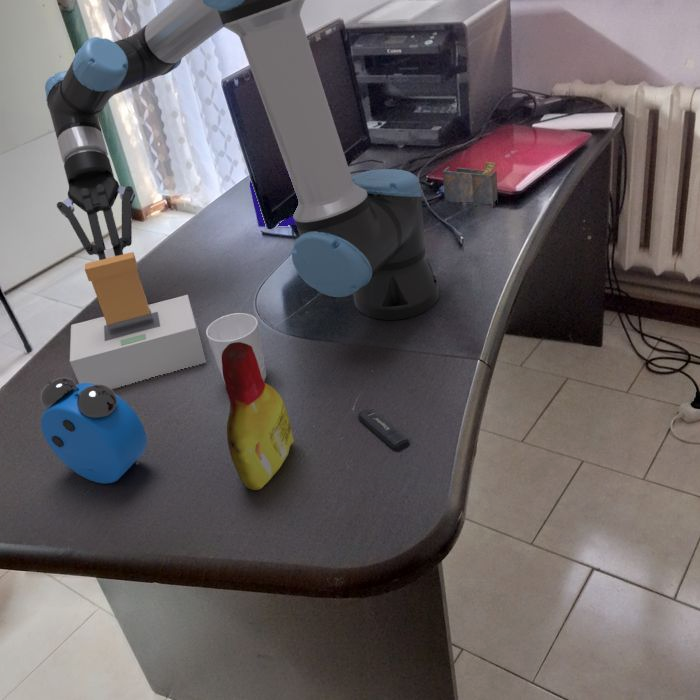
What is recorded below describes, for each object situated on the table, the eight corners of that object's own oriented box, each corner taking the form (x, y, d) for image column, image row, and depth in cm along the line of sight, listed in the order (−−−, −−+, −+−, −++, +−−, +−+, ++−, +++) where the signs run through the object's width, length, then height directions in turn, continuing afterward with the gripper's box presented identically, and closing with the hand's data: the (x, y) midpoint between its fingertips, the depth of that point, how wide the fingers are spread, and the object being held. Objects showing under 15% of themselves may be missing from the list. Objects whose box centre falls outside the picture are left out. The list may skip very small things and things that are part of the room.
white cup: (230, 401, 112) (215, 347, 106) (214, 377, 118) (199, 324, 112) (277, 382, 114) (265, 328, 109) (259, 359, 120) (246, 307, 115)
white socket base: (84, 358, 128) (70, 324, 124) (197, 328, 131) (187, 294, 127) (84, 396, 118) (69, 361, 114) (206, 362, 122) (195, 327, 118)
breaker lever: (108, 327, 121) (85, 263, 116) (153, 315, 122) (133, 251, 117) (108, 334, 119) (84, 269, 113) (154, 321, 120) (133, 257, 114)
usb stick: (411, 446, 99) (410, 437, 98) (395, 455, 98) (394, 446, 97) (371, 413, 106) (370, 405, 105) (356, 421, 105) (355, 412, 104)
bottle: (269, 502, 93) (235, 376, 82) (225, 495, 95) (186, 371, 84) (304, 440, 102) (277, 319, 91) (263, 435, 104) (232, 316, 93)
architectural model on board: (498, 204, 159) (497, 161, 154) (492, 209, 157) (491, 166, 152) (451, 198, 165) (448, 156, 159) (445, 204, 163) (442, 162, 157)
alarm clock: (160, 465, 102) (127, 378, 93) (131, 496, 97) (95, 408, 89) (89, 446, 107) (52, 363, 99) (59, 475, 103) (18, 391, 94)
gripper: (128, 162, 130) (161, 284, 126) (53, 179, 128) (85, 304, 123) (120, 141, 123) (155, 270, 118) (40, 158, 120) (73, 291, 116)
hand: (119, 287), depth 121 cm, fingers closed
